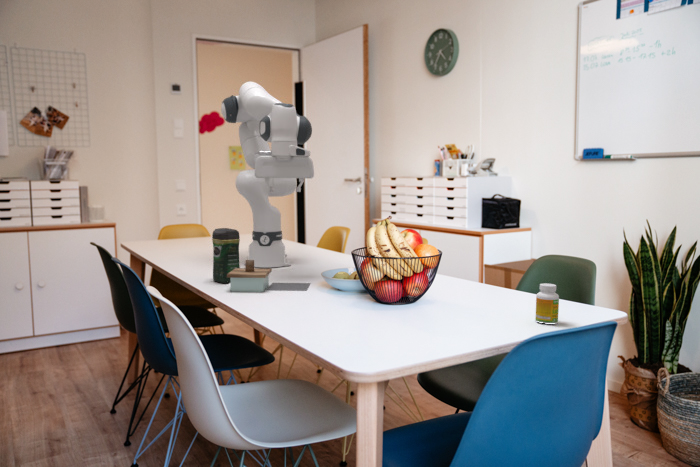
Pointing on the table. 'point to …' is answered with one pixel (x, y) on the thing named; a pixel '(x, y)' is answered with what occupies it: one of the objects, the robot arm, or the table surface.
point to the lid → (249, 271)
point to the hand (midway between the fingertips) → (284, 191)
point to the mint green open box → (249, 284)
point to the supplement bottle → (547, 304)
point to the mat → (289, 286)
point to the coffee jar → (225, 253)
